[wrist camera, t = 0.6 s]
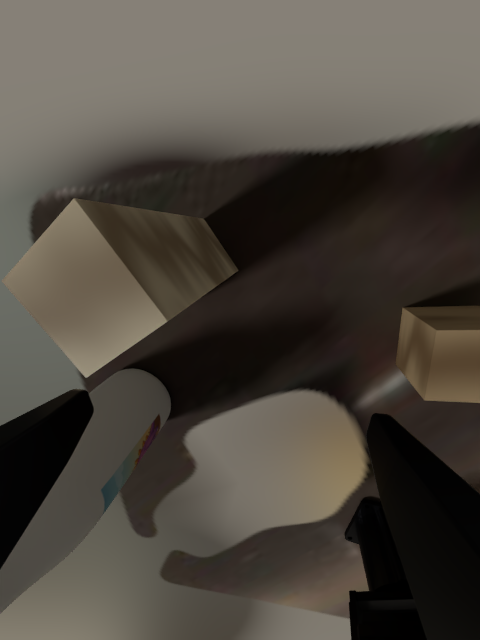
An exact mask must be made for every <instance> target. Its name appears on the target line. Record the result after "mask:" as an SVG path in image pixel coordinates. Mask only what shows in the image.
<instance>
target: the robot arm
mask: <svg viewBox="0 0 480 640" xmlns="http://www.w3.org/2000/svg"><path fill="white" fill-rule="evenodd" d="M93 413H94V407H93V404H92V401H91V399H90V396H89V394H88V392H87V391H86V390H81V389H73V390H70V391H68V392H66V393H64V394H62V395H60V396H58V397H56V398H54V399H52V400H50V401H48V402H47V403H45V404H43V405H41V406H39V407H37V408H35V409H33V410H31V411H29V412H27V413H25V414H23V415H21V416H19V417H17V418H15V419H13V420H11V421H9V422H7V423H5V424H3V425H1V426H0V569H1V568H2V566H3V565H4V563H5V561H6V560H7V558H8V557H9V555H10V554H11V552H12V550H13V549H14V547H15V546H16V544H17V542H18V541H19V539H20V538H21V536H22V535H23V533H24V531H25V530H26V528H27V527H28V525H29V523H30V522H31V520H32V519H33V517H34V516H35V514H36V512H37V511H38V509H39V508H40V506H41V504H42V503H43V501H44V500H45V498H46V497H47V495H48V493H49V492H50V490H51V489H52V487H53V485H54V484H55V482H56V481H57V479H58V478H59V476H60V474H61V473H62V471H63V470H64V468H65V466H66V465H67V463H68V461H69V460H70V458H71V456H72V454H73V452H74V450H75V448H76V447H77V445H78V443H79V441H80V439H81V437H82V435H83V433H84V431H85V429H86V427H87V425H88V423H89V421H90V419H91V418H92V416H93ZM366 438H367V444H368V448H369V453H370V457H371V461H372V466H373V470H374V475H375V479H376V483H377V488H378V492H379V496H380V499H381V503H382V504H381V503H377V502H374V501H371V500H367V499H364V500H362V501H361V503H360V504H359V506H358V508H357V510H356V512H355V514H354V516H353V518H352V520H351V522H350V523H349V525H348V527H347V529H346V531H345V539H346V540H348V541H351V542H354V543H357V544H359V546H360V550H361V555H362V560H363V564H364V569H365V573H366V578H367V583H368V587H369V591H363V592H356V591H355V590H354V591H349V595H350V602H349V611H350V625H351V640H480V494H479V493H478V492H477V491H476V490H475V489H474V488H473V487H471V486H470V485H469V484H468V483H467V482H466V481H465V480H463V479H462V478H461V477H460V476H459V475H458V474H457V473H455V472H454V471H453V470H452V469H451V468H450V467H449V466H447V465H446V464H445V463H444V462H443V461H442V460H441V459H439V458H438V457H437V456H436V455H435V454H434V453H433V452H431V451H430V450H429V449H428V448H427V447H426V446H425V445H423V444H422V443H421V442H420V441H419V440H418V439H417V438H415V437H414V436H413V435H412V434H411V433H410V432H409V431H407V430H406V429H405V428H404V427H403V426H402V425H401V424H399V423H398V422H397V421H396V420H395V419H394V418H393V417H391V416H390V415H388V414H378V413H375V414H373V415H372V417H371V420H370V423H369V426H368V430H367V434H366Z"/></svg>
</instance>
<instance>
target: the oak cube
mask: <svg viewBox="0 0 480 640" xmlns="http://www.w3.org/2000/svg"><path fill="white" fill-rule="evenodd" d="M396 365H397V366H398V368H399V369H400V370H401V371H402V373H403V374H404V375H405V376H406V378H407V379H408V380H409V382H410V383H411V384H412V385H413V387H414V388H415V389H416V390H417V392H418V393H419V394H420V395H421V397H422V398H423V399H424V400H428V401H451V402H475V403H480V306H443V307H407V308H403V310H402V318H401V326H400V334H399V342H398V350H397V358H396Z"/></svg>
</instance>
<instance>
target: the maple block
mask: <svg viewBox="0 0 480 640" xmlns="http://www.w3.org/2000/svg"><path fill="white" fill-rule="evenodd" d="M237 271H239V270H238V269H237V267H236V266H235V264H234V263H233V261H232V260H231V258H230V257H229V255H228V254H227V253H226V251H225V250H224V248H223V247H222V245H221V244H220V242H219V241H218V239H217V238H216V236H215V235H214V233H213V232H212V230H211V229H210V227H209V226H208V224H207V223H206V221H205V220H204V219H202V218H196V217H189V216H183V215H177V214H170V213H164V212H158V211H151V210H145V209H139V208H132V207H126V206H120V205H113V204H107V203H101V202H94V201H88V200H82V199H75V198H74V199H73V200H72V201H71V202H70V203H69V205H68V206H67V207H66V208H65V209H64V210H63V211H62V213H61V214H60V215H59V216H58V217H57V218H56V219H55V221H54V222H53V223H52V224H51V225H50V226H49V227H48V229H47V230H46V231H45V232H44V233H43V234H42V236H41V237H40V238H39V239H38V240H37V241H36V242H35V244H34V245H33V246H32V247H31V248H30V249H29V250H28V252H27V253H26V254H25V255H24V256H23V257H22V258H21V260H20V261H19V262H18V263H17V264H16V265H15V266H14V268H13V269H12V270H11V271H10V272H9V273H8V274H7V276H6V277H5V278H4V279H3V280H2V282H3V283H4V284H5V286H7V288H8V289H9V290H10V291H11V292H12V294H13V295H14V296H15V297H16V298H17V299H18V300H19V302H20V303H21V304H22V305H23V306H24V307H25V309H26V310H27V311H28V312H29V313H30V314H31V315H32V317H33V318H34V319H35V320H36V321H37V322H38V323H39V325H40V326H41V327H42V328H43V329H44V330H45V332H46V333H47V334H48V335H49V336H50V337H51V338H52V340H53V341H54V342H55V343H56V344H57V345H58V346H59V348H60V349H61V350H62V351H63V352H64V353H65V355H66V356H67V357H68V358H69V359H70V360H71V361H72V363H73V364H74V365H75V366H76V367H77V368H78V369H79V371H80V372H81V373H82V374H83V375H84V376H85V378H87V377H88V376H90V375H91V374H92V373H94V372H95V371H97V370H98V369H100V368H101V367H103V366H104V365H105V364H107V363H108V362H110V361H111V360H113V359H114V358H116V357H117V356H118V355H120V354H121V353H123V352H124V351H126V350H127V349H128V348H130V347H131V346H133V345H134V344H136V343H137V342H139V341H140V340H141V339H143V338H144V337H146V336H147V335H149V334H150V333H152V332H153V331H154V330H156V329H157V328H159V327H160V326H162V325H163V324H165V323H166V322H167V321H169V320H170V319H172V318H173V317H174V316H176V315H177V314H179V313H180V312H181V311H183V310H184V309H186V308H187V307H188V306H190V305H191V304H193V303H194V302H195V301H197V300H198V299H200V298H201V297H202V296H204V295H205V294H206V293H208V292H209V291H211V290H212V289H213V288H215V287H216V286H218V285H219V284H220V283H222V282H223V281H225V280H226V279H227V278H229V277H230V276H232V275H233V274H234V273H236V272H237Z"/></svg>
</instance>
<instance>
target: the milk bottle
mask: <svg viewBox="0 0 480 640" xmlns="http://www.w3.org/2000/svg"><path fill="white" fill-rule="evenodd" d="M89 396H90V399H91V401H92V404H93V407H94V413H93V416H92V418H91V419H90V421H89V423H88V425H87V427H86V429H85V431H84V433H83V435H82V437H81V439H80V441H79V443H78V445H77V447H76V448H75V450H74V452H73V454H72V456H71V458H70V460H69V461H68V463H67V465H66V466H65V468H64V470H63V471H62V473H61V474H60V476H59V478H58V479H57V481H56V482H55V484H54V485H53V487H52V489H51V490H50V492H49V493H48V495H47V497H46V498H45V500H44V501H43V503H42V504H41V506H40V508H39V509H38V511H37V512H36V514H35V516H34V517H33V519H32V520H31V522H30V523H29V525H28V527H27V528H26V530H25V531H24V533H23V535H22V536H21V538H20V539H19V541H18V542H17V544H16V546H15V547H14V549H13V550H12V552H11V554H10V555H9V557H8V558H7V560H6V561H5V563H4V565H3V566H2V568H1V569H0V613H1V612H3V610H5V609H6V608H7V606H9V605H10V604H11V603H12V602H13V601H14V600H15V599H16V598H17V597H18V596H20V595H21V594H22V593H23V592H24V591H25V590H27V589H28V588H29V587H30V586H31V585H33V584H34V583H35V582H36V581H38V580H39V579H40V578H41V577H43V576H44V575H45V574H46V573H48V572H49V571H50V570H52V569H53V568H54V567H55V566H56V565H58V564H59V563H60V562H61V561H62V560H64V559H65V557H67V556H68V555H69V554H70V553H71V552H72V551H73V550H74V549H75V548H76V547H77V546H78V545H79V544H80V543H81V542H82V540H83V539H84V538H85V537H86V536H87V535H88V533H89V532H90V531H91V530H92V529H93V527H94V526H95V525H96V523H97V522H98V521H99V519H100V518H101V516H102V515H103V514H104V512H105V511H106V509H107V508H108V507H109V505H110V504H111V502H112V501H113V500H114V498H115V496H116V495H117V494H118V492H119V491H120V489H121V488H122V486H123V485H124V483H125V482H126V480H127V479H128V477H129V476H130V475H131V473H132V472H133V470H134V469H135V467H136V466H137V464H138V463H139V461H140V460H141V458H142V457H143V455H144V454H145V452H146V451H147V449H148V448H149V446H150V445H151V443H152V442H153V440H154V439H155V437H156V436H157V434H158V433H159V431H160V430H161V428H162V427H163V425H164V423H165V422H166V420H167V419H168V417H169V414H170V410H171V399H170V396H169V393H168V391H167V389H166V387H165V386H164V385H163V383H162V382H161V381H160V380H159V379H158V378H156V377H155V376H154V375H152V374H150V373H148V372H146V371H144V370H140V369H134V368H132V369H124V370H121V371H118V372H116V373H115V374H113V375H112V376H111V377H109V378H108V379H107V380H105V381H104V382H103V383H102V384H100V385H99V386H98V387H97V388H95V389H94V390H93V391H92V392H90V393H89Z"/></svg>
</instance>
